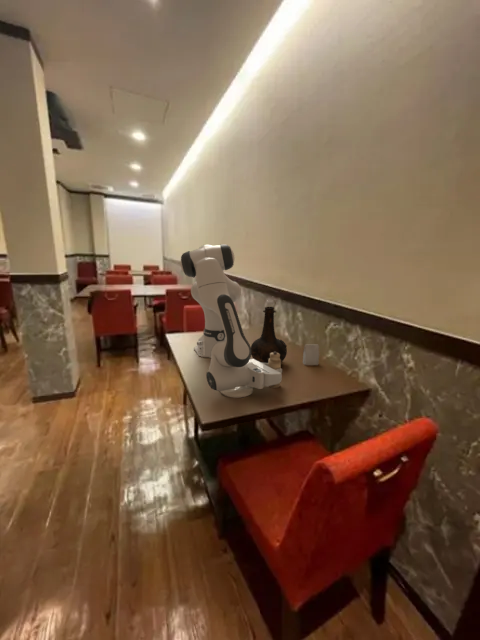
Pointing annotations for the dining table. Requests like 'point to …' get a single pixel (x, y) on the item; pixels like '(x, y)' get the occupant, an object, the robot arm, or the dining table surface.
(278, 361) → the pepper mill
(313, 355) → the white box
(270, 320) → the glass bottle
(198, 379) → the dining table surface
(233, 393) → the cream plate
